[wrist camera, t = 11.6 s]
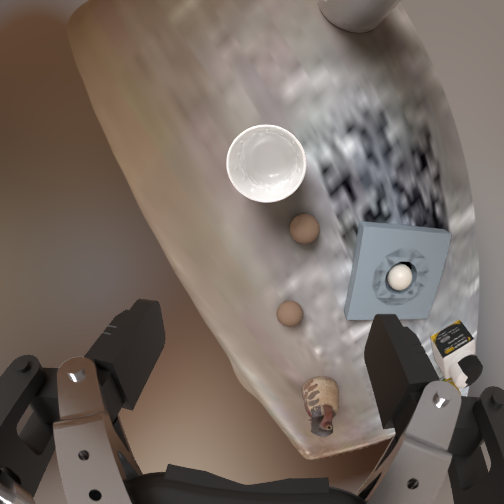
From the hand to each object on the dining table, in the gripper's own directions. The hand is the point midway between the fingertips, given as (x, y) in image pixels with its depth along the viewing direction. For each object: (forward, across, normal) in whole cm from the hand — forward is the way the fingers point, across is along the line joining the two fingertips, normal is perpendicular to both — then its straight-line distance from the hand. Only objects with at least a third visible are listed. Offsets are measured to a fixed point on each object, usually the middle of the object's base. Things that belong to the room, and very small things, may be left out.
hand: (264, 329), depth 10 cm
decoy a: (+28, -4, +5) cm, 29 cm away
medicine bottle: (+30, -36, +26) cm, 54 cm away
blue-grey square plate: (+30, -20, +12) cm, 38 cm away
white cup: (+30, +1, -4) cm, 31 cm away
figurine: (+30, -11, +38) cm, 50 cm away
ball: (+28, -19, +12) cm, 36 cm away
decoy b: (+28, -3, +18) cm, 34 cm away
